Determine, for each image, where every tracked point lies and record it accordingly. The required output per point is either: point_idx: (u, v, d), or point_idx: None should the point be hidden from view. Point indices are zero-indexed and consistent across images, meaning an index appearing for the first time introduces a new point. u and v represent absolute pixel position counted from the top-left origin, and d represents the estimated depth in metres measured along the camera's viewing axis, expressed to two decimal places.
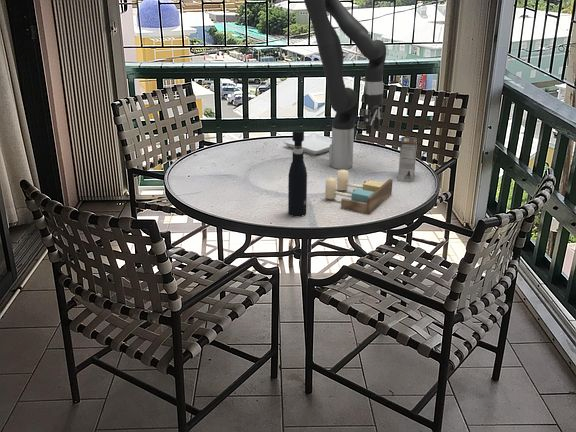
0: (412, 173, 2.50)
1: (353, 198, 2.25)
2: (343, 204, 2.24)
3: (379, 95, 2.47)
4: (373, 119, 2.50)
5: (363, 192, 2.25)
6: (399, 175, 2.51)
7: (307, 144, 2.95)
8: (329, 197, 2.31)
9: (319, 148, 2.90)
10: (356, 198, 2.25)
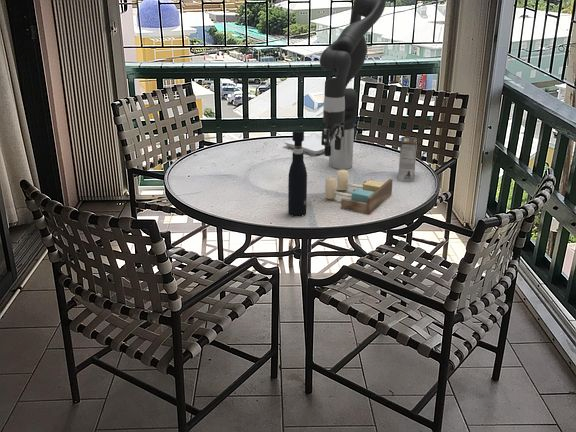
0: (412, 173, 2.50)
1: (353, 198, 2.25)
2: (343, 204, 2.24)
3: (340, 112, 2.17)
4: (333, 139, 2.20)
5: (363, 192, 2.25)
6: (399, 175, 2.51)
7: (307, 144, 2.95)
8: (329, 197, 2.31)
9: (319, 148, 2.90)
10: (356, 198, 2.25)
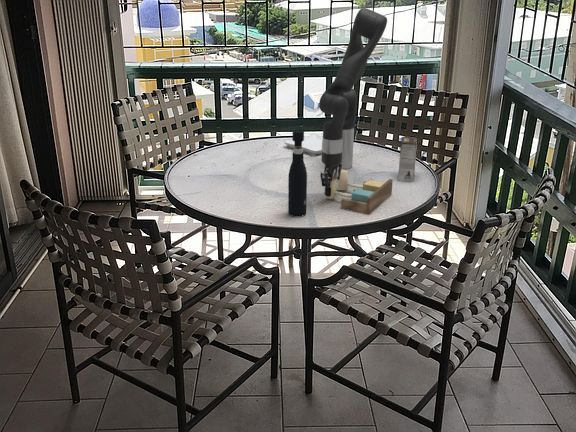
0: (412, 173, 2.50)
1: (353, 198, 2.25)
2: (343, 204, 2.24)
3: (337, 154, 2.23)
4: (332, 180, 2.27)
5: (363, 192, 2.25)
6: (399, 175, 2.51)
7: (307, 144, 2.95)
8: (329, 197, 2.31)
9: (319, 148, 2.90)
10: (356, 198, 2.25)
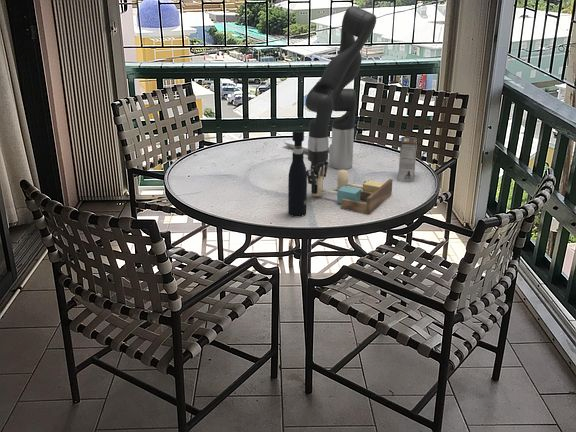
0: (412, 173, 2.50)
1: (339, 195, 2.28)
2: (343, 204, 2.24)
3: (323, 152, 2.25)
4: (318, 178, 2.30)
5: (349, 189, 2.28)
6: (399, 175, 2.51)
7: (307, 144, 2.95)
8: (315, 194, 2.33)
9: None
10: (342, 196, 2.27)
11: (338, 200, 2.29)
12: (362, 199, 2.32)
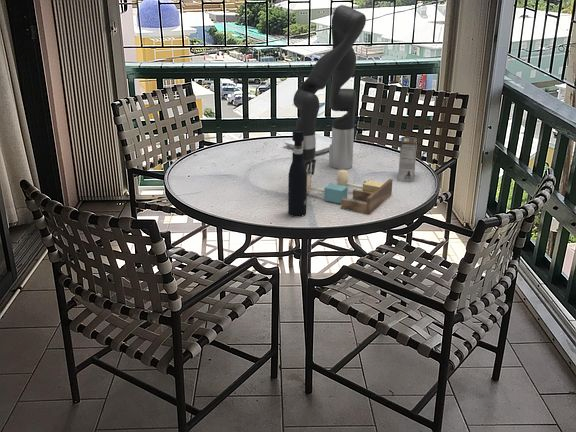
0: (412, 173, 2.50)
1: (326, 193, 2.30)
2: (343, 204, 2.24)
3: (310, 150, 2.28)
4: None
5: (336, 187, 2.30)
6: (399, 175, 2.51)
7: None
8: None
9: (319, 148, 2.90)
10: (329, 193, 2.29)
11: (325, 197, 2.31)
12: (362, 199, 2.32)
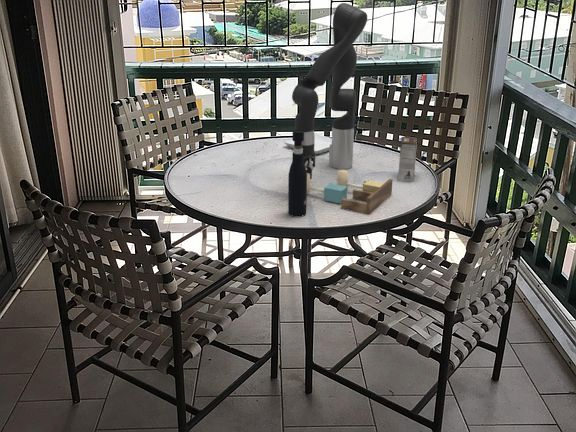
0: (412, 173, 2.50)
1: (326, 193, 2.30)
2: (343, 204, 2.24)
3: (309, 146, 2.27)
4: None
5: (336, 187, 2.30)
6: (399, 175, 2.51)
7: None
8: None
9: (319, 148, 2.90)
10: (329, 193, 2.29)
11: (325, 197, 2.31)
12: (362, 199, 2.32)
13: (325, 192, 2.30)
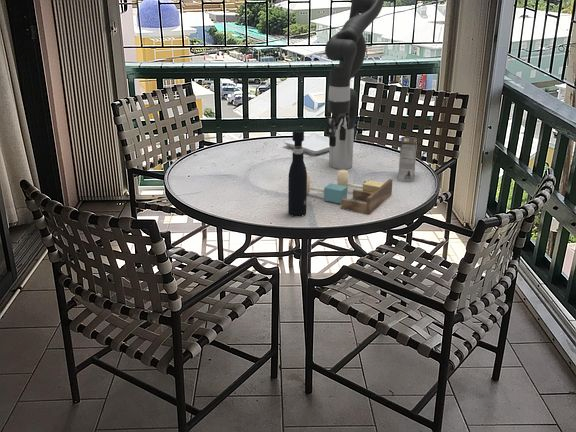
0: (412, 173, 2.50)
1: (326, 193, 2.30)
2: (343, 204, 2.24)
3: (345, 102, 2.14)
4: (338, 129, 2.18)
5: (336, 187, 2.30)
6: (399, 175, 2.51)
7: (307, 144, 2.95)
8: None
9: (319, 148, 2.90)
10: (329, 193, 2.29)
11: (325, 197, 2.31)
12: (362, 199, 2.32)
13: (325, 192, 2.30)
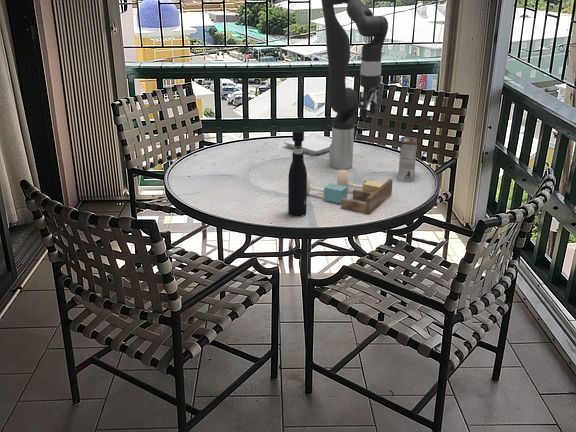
0: (412, 173, 2.50)
1: (326, 193, 2.30)
2: (343, 204, 2.24)
3: (376, 76, 2.26)
4: (369, 103, 2.29)
5: (336, 187, 2.30)
6: (399, 175, 2.51)
7: (307, 144, 2.95)
8: None
9: (319, 148, 2.90)
10: (329, 193, 2.29)
11: (325, 197, 2.31)
12: (362, 199, 2.32)
13: (325, 192, 2.30)
